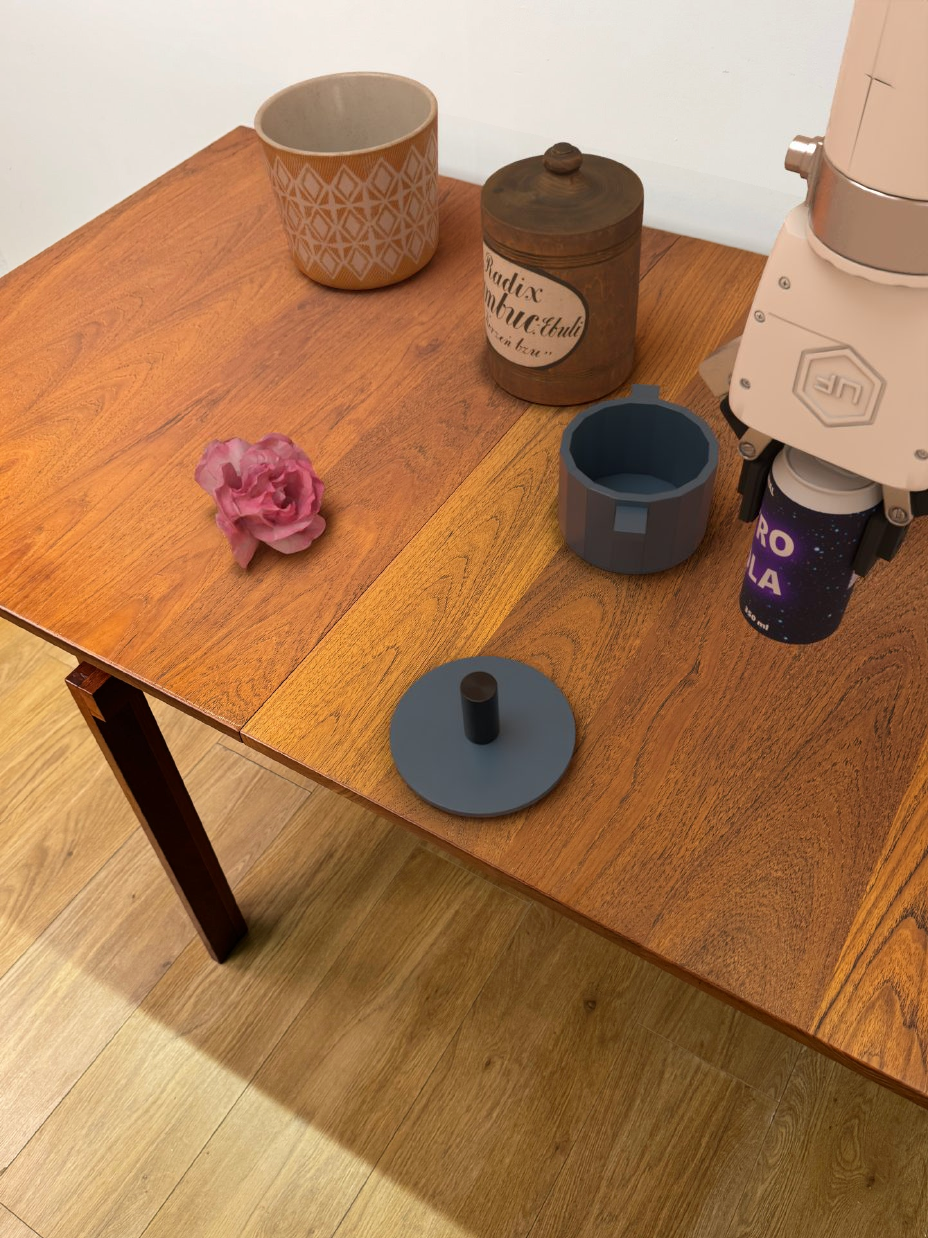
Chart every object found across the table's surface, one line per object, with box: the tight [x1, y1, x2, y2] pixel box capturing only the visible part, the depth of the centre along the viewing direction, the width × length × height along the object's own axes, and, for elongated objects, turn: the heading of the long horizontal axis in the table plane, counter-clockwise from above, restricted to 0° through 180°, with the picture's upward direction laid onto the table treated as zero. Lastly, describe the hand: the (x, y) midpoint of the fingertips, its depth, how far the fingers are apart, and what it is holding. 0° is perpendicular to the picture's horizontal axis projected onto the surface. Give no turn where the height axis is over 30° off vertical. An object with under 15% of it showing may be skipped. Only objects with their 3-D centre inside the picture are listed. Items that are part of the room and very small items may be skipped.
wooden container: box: [479, 141, 645, 406], centre depth 93 cm, size 15×15×22 cm
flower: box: [193, 432, 327, 569], centre depth 86 cm, size 11×10×10 cm
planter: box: [253, 71, 440, 291], centre depth 111 cm, size 19×19×16 cm
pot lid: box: [388, 655, 577, 818], centre depth 71 cm, size 14×14×7 cm
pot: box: [557, 383, 720, 576], centre depth 84 cm, size 13×18×8 cm
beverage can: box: [738, 444, 884, 646], centre depth 52 cm, size 6×6×12 cm
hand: (813, 530), depth 52 cm, fingers closed on beverage can, 5 cm apart
